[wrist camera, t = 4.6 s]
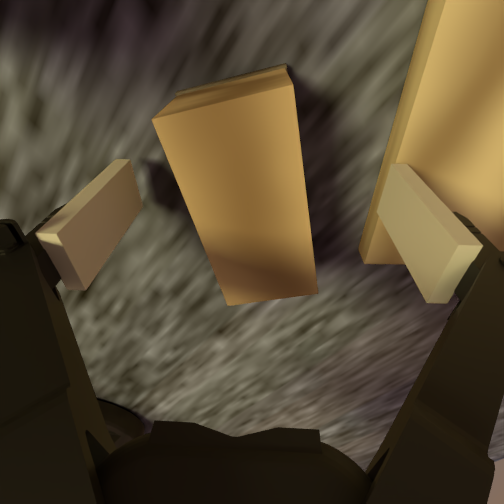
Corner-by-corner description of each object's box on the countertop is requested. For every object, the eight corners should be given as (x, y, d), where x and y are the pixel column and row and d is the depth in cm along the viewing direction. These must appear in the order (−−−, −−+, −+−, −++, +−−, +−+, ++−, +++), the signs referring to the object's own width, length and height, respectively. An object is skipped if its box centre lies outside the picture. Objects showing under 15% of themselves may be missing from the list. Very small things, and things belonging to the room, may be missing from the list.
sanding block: (233, 251, 20) (226, 307, 16) (178, 90, 14) (147, 116, 10) (308, 239, 19) (320, 294, 16) (285, 62, 13) (295, 80, 9)
